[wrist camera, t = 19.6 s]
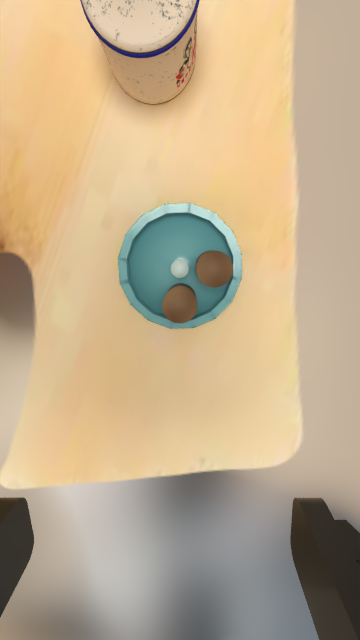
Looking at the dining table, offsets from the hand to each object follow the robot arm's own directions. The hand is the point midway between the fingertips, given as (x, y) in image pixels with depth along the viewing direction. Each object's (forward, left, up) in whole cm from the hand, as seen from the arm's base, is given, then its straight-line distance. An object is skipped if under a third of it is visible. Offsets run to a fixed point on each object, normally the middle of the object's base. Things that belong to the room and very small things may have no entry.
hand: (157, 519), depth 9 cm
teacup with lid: (-21, +19, -28) cm, 40 cm away
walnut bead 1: (-1, +2, -27) cm, 27 cm away
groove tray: (-4, +4, -28) cm, 29 cm away
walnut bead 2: (-1, +7, -27) cm, 28 cm away
